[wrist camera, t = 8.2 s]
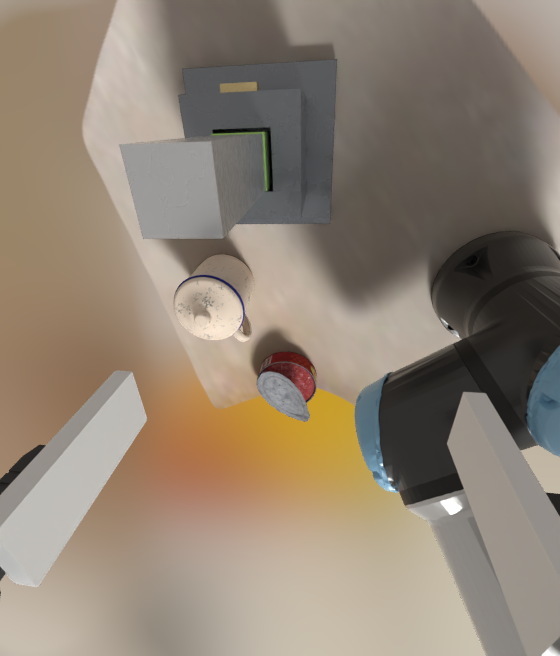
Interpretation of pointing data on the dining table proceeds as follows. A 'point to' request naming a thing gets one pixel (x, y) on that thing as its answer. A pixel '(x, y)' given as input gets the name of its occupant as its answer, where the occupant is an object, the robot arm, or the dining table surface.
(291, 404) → the canned food
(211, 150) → the post
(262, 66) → the stand
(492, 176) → the dining table surface
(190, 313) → the teacup with lid
